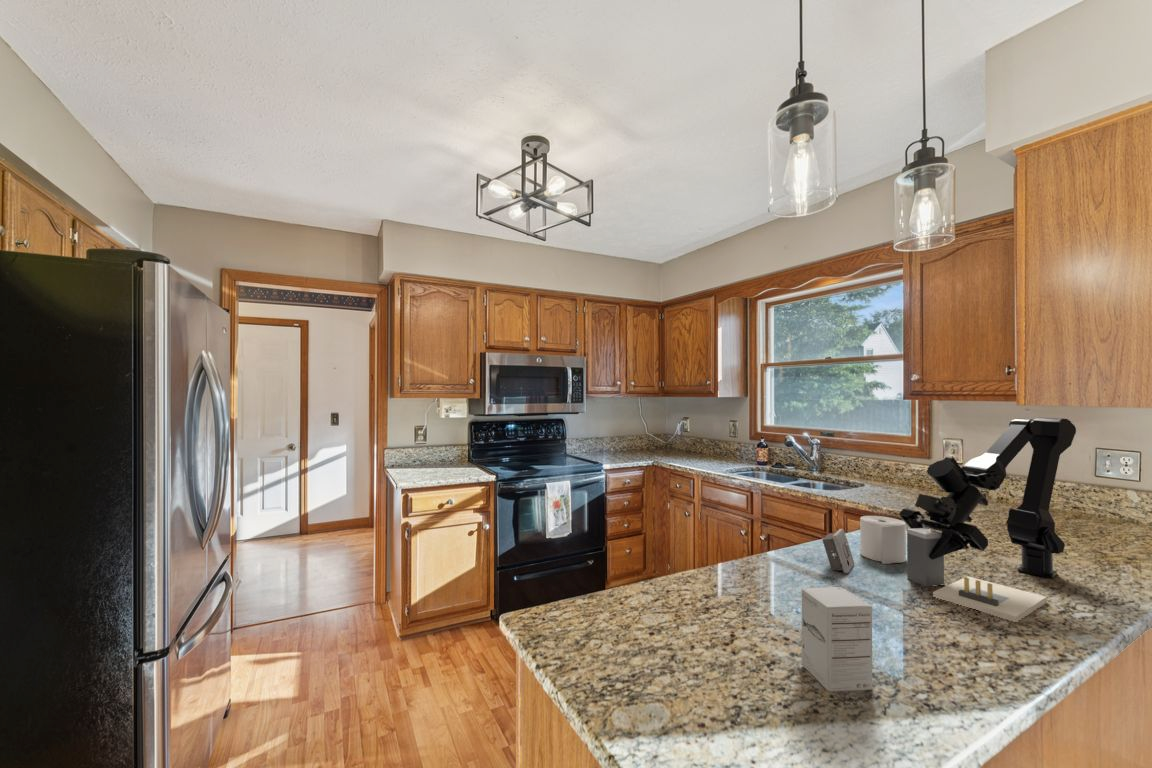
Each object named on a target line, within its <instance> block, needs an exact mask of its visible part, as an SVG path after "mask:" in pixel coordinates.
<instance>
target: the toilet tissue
mask: <svg viewBox="0 0 1152 768" xmlns="http://www.w3.org/2000/svg"><path fill="white" fill-rule="evenodd" d="M859 521H860V522H859V523H860V525H859V526H860V527H859V529H860V532H859V534H860V537H859V539H860V541H859V542H860V543H859V546H860V554H861V556H862V557H865V558H867V559H870V560H872V561H876V562H877V561H878V562H881V564H900V563H905V562H907V526H906V525H907V524H906V522H905V521H904V520H901V519H897V518H894V517H889V516H881V515H863V516H860V519H859Z"/></svg>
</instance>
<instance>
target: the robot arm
mask: <svg viewBox="0 0 1152 768" xmlns="http://www.w3.org/2000/svg"><path fill="white" fill-rule="evenodd" d="M1076 434H1077V427H1076V426H1075V424H1073V422H1072V421H1071V420H1070V419H1068V418H1059V417H1055V418H1054V417H1034V419H1033V418H1032V419H1029V418H1015V419H1012V420H1011V421H1009V425H1008V427H1007V428H1006V429H1005V430H1004V432H1003V433H1002V434H1000V436H999V437H998V438H997V439H996V440H995V442H994V443H993V444H991V446H989V448H988V449H987V450H986V451H985V452H984V453H983V454H982V455H980V456H976V457H974V458H971V459H970V460H969V461H968V462H966V463H965V464H963V465H962V466H961V465H959V463H958V461H957V460H956V459H955V458H954V457H950V456H945V457H944V459H941V460H937V461H935V462H933V463H932V464H930V465H928V468H927V469H926V473H927V474H928V476H929V477H930V478H931V479H932V481H933V482H934V483H935V484H936V485H937V486H938V487H939V488H940V490H942V491H943V493H948V494H947V495H946V496H944V495H943V496H941V497H940V498H939V497H935V496H932V495H927V494H924V493H919V494H918V496H917V499H916V501H915V504H914V506H915V507H917V508H920V509H922V510H924V511H925V512H924V514H925V515H926V516H927V517H929V519H928V518H926V517H925V516H924V515H923V514H922V513H921V511H919V510H916V509H912V508H908V507H906V508H903V509H902V510H901V511H900V512H899V514H898V516H899V517H900V518H901V519H902V521H904V522H905V523H906V525H907V526H908V527H909V529H914V528H926V529H930V530H934V531H937V532H941V533H942V536H941V538H940V540H939V541H938V543H937V544H936V545H935V547H934V548H933V550H932V551H931V553H930V555H929V557H930V558H931V559H932V560H933V559H936V558H938V557H941V556H944V557H945V556H946V555H949V554H952V553H954V552H959V551H960V550H961V551H962V550H969V548H971V549H974V550H978V551H981V552H984V551H985V550H986V549H987V547H988V546H989V540H988V538H987V537H986V536H985V535H984V533H983V532H982V531H981V530H980V529H979V527H977V525H974V524H969V523H971V521H972V520H973V518H972V517H971V514H972V513H973V511H975V509H976V508H977V506H978V505H982V506H988V505H989V502H988V499H987V494H986V493H983V492H981V491H980V490H979V489H982V490H986V491H996V490H997V489H999V488H1000V486H1001V485H1002V484H1003V482H1004V481H1005V479H1006V477H1007V470H1006V469H1007V467H1008V466H1009V464H1010V463H1011V462H1012V461H1013V460H1014V458H1016V456H1017V455H1018V454H1019V453H1020V452H1021V450H1023V449H1024V447H1025V446H1026V445H1027V444H1028V443H1029V444H1030V446H1031V447H1032V454H1031V459H1030V464H1029V469H1028V474H1027V479H1026V483H1025V489H1024V492H1023V497H1022V502H1021V504H1020V505H1019V506H1017V508H1014V507H1012V508H1010V509H1009V511H1008V517H1007V520H1006V522H1005V523H1006V531H1007V532H1008V536H1009V539H1010V542H1011V544H1013V545H1019V546H1021V548H1020V549H1021V551H1020V552H1021V553H1020V554H1021V565H1020V566H1019V567H1018V568H1017V569H1016V570H1017V572H1019V571H1020V573H1023V574H1030V575H1032V576H1033V575H1034V576H1039V577H1044V578H1048V579H1054V578H1055V577H1056V575H1057V574H1058V570H1054V565H1053V564H1054V562H1053V559H1054V558H1053V556H1054V555H1053V554H1056V555H1060V554H1061V553H1064V550H1065V546H1066V544H1065V542H1064V541H1063V540H1062V539H1061V537H1059V535H1058V534H1057V533H1056V532H1055V527H1056V523H1055V520H1054V518H1053V516H1052V514H1051V513H1050V504H1051V500H1052V495H1053V490H1054V486H1055V481H1056V476H1057V471H1058V466H1059V461H1060V458H1061V457H1060V456H1061V455H1062V453H1064V452H1065V451H1066V450H1067V449H1069V448H1070V447H1071V446H1072V443H1073V441H1074V439H1075V436H1076ZM966 522H967V523H966ZM968 545H969V546H968Z"/></svg>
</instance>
